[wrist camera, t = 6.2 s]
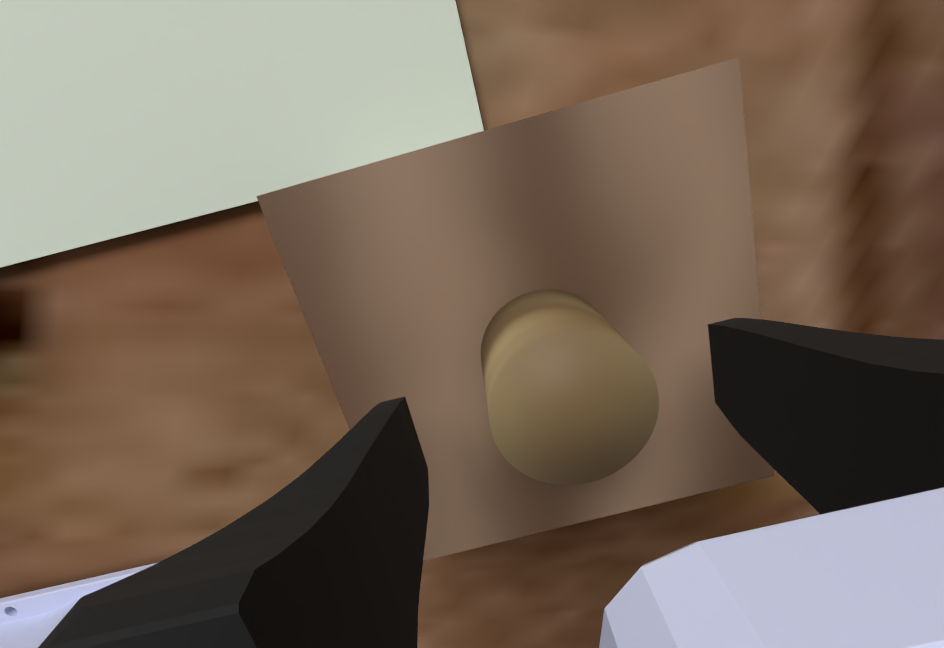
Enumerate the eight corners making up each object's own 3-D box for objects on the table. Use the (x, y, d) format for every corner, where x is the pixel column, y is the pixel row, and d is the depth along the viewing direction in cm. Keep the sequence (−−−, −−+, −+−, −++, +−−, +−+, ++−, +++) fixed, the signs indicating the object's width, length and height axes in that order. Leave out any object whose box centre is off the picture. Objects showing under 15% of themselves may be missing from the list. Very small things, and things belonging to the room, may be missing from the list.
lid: (405, 551, 16) (390, 672, 13) (265, 194, 13) (181, 209, 9) (762, 464, 16) (862, 562, 12) (725, 62, 12) (855, 15, 8)
